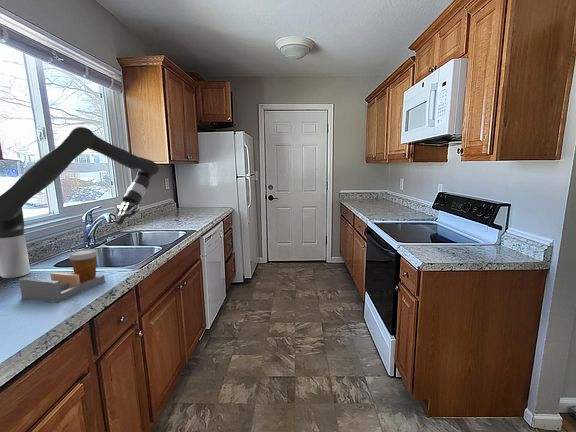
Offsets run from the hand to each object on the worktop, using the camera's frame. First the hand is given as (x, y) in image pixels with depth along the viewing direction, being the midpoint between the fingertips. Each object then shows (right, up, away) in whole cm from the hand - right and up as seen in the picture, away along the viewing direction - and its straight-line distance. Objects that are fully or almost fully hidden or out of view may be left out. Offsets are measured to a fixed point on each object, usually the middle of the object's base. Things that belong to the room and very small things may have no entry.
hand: (117, 223), depth 136 cm
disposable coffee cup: (-4, -23, -15) cm, 28 cm away
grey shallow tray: (-6, -24, -22) cm, 33 cm away
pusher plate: (-7, -24, -24) cm, 35 cm away
